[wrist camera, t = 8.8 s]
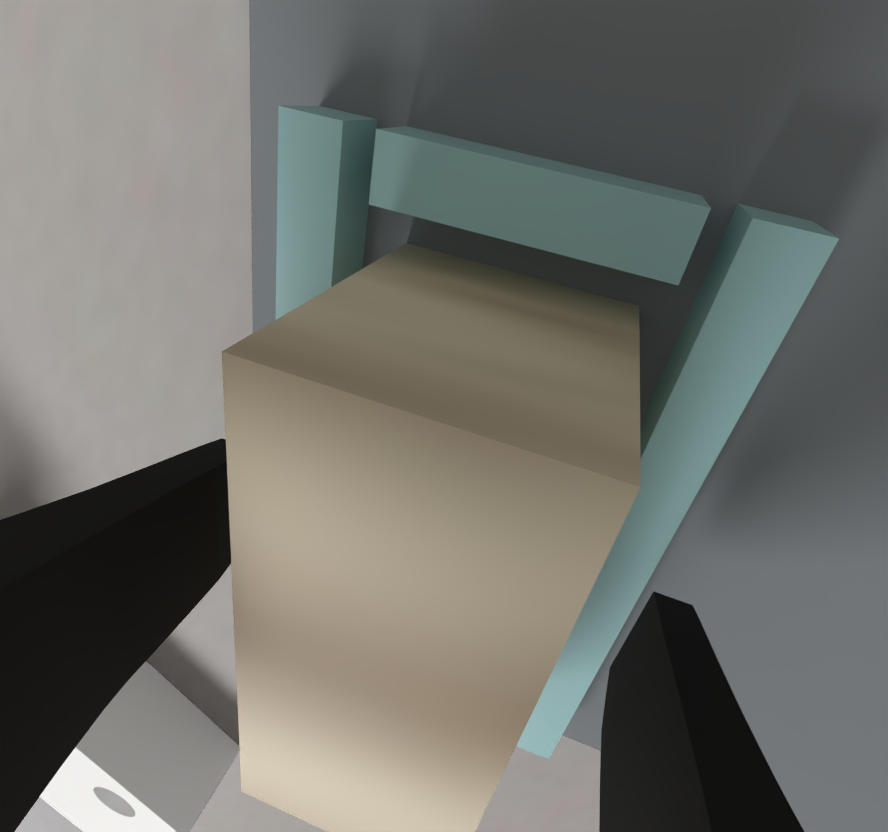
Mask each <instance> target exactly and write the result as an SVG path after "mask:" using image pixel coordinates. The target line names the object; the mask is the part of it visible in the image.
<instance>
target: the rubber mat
mask: <svg viewBox="0 0 888 832" xmlns="http://www.w3.org/2000/svg"><path fill="white" fill-rule="evenodd" d="M249 6H250V102H251V199H252V295H253V333H254V332H256V331H258V330H260V329H261V328H263V327H265V326H266V325H268V324H270V323H271V322H273V321H275V320H276V249H277V175H278V106H323V107H327V108H331V109H335V110H340V111H344V112H348V113H353V114H357V115H361V116H365V117H370V118H374V119H377V127H376V129H380V128H392V127H403V126H408V127H412V128H417V129H421V130H425V131H430V132H434V133H438V134H442V135H447V136H451V137H455V138H459V139H464V140H468V141H472V142H477V143H481V144H485V145H489V146H494V147H498V148H502V149H507V150H511V151H515V152H519V153H524V154H528V155H532V156H536V157H541V158H545V159H549V160H554V161H558V162H562V163H566V164H571V165H575V166H579V167H584V168H588V169H592V170H596V171H601V172H605V173H609V174H613V175H618V176H622V177H626V178H631V179H635V180H639V181H643V182H648V183H652V184H656V185H661V186H665V187H669V188H673V189H678V190H682V191H686V192H690V193H695V194H699V195H702V196H703V198H704V199H705V200H706V202H707V203H708V205H709V206H710V207H711V210H710V212H709V214H708V217H707V219H706V221H705V224H704V226H703V229H702V231H701V233H700V236H699V238H698V240H697V243H696V245H695V247H694V250H693V252H692V255H691V257H690V259H689V262H688V264H687V266H686V269H685V271H684V274H683V276H682V278H681V281H680V283H679V285H674V284H671V283H667V282H663V281H659V280H655V279H652V278H648V277H644V276H640V275H636V274H632V273H629V272H625V271H621V270H617V269H613V268H610V267H606V266H602V265H598V264H594V263H590V262H587V261H583V260H579V259H575V258H571V257H568V256H564V255H560V254H556V253H552V252H548V251H545V250H541V249H537V248H533V247H529V246H526V245H522V244H518V243H514V242H510V241H506V240H503V239H499V238H495V237H491V236H487V235H483V234H480V233H476V232H472V231H468V230H464V229H461V228H457V227H453V226H449V225H445V224H441V223H438V222H434V221H430V220H426V219H422V218H419V217H415V216H411V215H407V214H403V213H399V212H396V211H392V210H388V209H384V208H380V207H377V206H373V205H369V207H368V217H367V227H366V237H365V247H364V257H363V267H362V269H363V268H365V267H366V266H368V265H370V264H372V263H373V262H375V261H377V260H378V259H380V258H382V257H383V256H385V255H387V254H389V253H390V252H392V251H394V250H395V249H397V248H399V247H400V246H402V245H404V244H406V243H408V244H412V245H416V246H419V247H423V248H427V249H430V250H434V251H438V252H442V253H445V254H449V255H453V256H456V257H460V258H464V259H467V260H471V261H475V262H479V263H482V264H486V265H490V266H493V267H497V268H501V269H504V270H508V271H512V272H516V273H519V274H523V275H527V276H530V277H534V278H538V279H541V280H545V281H549V282H552V283H556V284H560V285H564V286H567V287H571V288H575V289H578V290H582V291H586V292H589V293H593V294H597V295H601V296H604V297H608V298H612V299H615V300H619V301H623V302H626V303H630V304H634V305H638V306H639V330H640V422H641V420H642V418H643V416H644V413H645V411H646V409H647V407H648V404H649V402H650V400H651V398H652V395H653V393H654V391H655V389H656V386H657V384H658V382H659V380H660V377H661V375H662V373H663V371H664V368H665V366H666V364H667V362H668V359H669V357H670V355H671V353H672V350H673V348H674V346H675V344H676V341H677V339H678V337H679V335H680V332H681V330H682V328H683V326H684V323H685V321H686V319H687V317H688V314H689V312H690V310H691V308H692V305H693V303H694V301H695V299H696V296H697V294H698V292H699V290H700V287H701V285H702V283H703V281H704V278H705V276H706V274H707V272H708V270H709V267H710V265H711V263H712V261H713V258H714V256H715V254H716V252H717V249H718V247H719V245H720V243H721V240H722V238H723V236H724V234H725V231H726V229H727V227H728V225H729V222H730V220H731V218H732V216H733V213H734V211H735V209H736V207H737V204H742V205H746V206H750V207H755V208H759V209H763V210H767V211H772V212H776V213H780V214H785V215H789V216H793V217H797V218H802V219H806V220H810V221H813V222H815V223H816V224H818V225H819V226H821V227H822V228H824V229H826V230H827V231H829V232H830V233H832V234H833V235H835V236H836V237H838V238H839V240H838V242H837V244H836V245H835V247H834V249H833V251H832V253H831V254H830V256H829V258H828V260H827V262H826V263H825V265H824V267H823V269H822V271H821V272H820V274H819V276H818V278H817V279H816V281H815V283H814V285H813V287H812V288H811V290H810V292H809V294H808V296H807V297H806V299H805V301H804V303H803V305H802V306H801V308H800V310H799V312H798V313H797V315H796V317H795V319H794V321H793V322H792V324H791V326H790V328H789V330H788V331H787V333H786V335H785V337H784V339H783V340H782V342H781V344H780V346H779V348H778V349H777V351H776V353H775V355H774V356H773V358H772V360H771V362H770V364H769V365H768V367H767V369H766V371H765V373H764V374H763V376H762V378H761V380H760V382H759V383H758V385H757V387H756V389H755V391H754V392H753V394H752V396H751V398H750V399H749V401H748V403H747V405H746V407H745V408H744V410H743V412H742V414H741V416H740V417H739V419H738V421H737V423H736V425H735V426H734V428H733V430H732V432H731V433H730V435H729V437H728V439H727V441H726V442H725V444H724V446H723V448H722V450H721V451H720V453H719V455H718V457H717V459H716V460H715V462H714V464H713V466H712V468H711V469H710V471H709V473H708V475H707V476H706V478H705V480H704V482H703V484H702V485H701V487H700V489H699V491H698V493H697V494H696V496H695V498H694V500H693V502H692V503H691V505H690V507H689V509H688V511H687V512H686V514H685V516H684V518H683V519H682V521H681V523H680V525H679V527H678V528H677V530H676V532H675V534H674V536H673V537H672V539H671V541H670V543H669V545H668V546H667V548H666V550H665V552H664V553H663V555H662V557H661V559H660V561H659V562H658V564H657V566H656V568H655V570H654V571H653V573H652V575H651V577H650V579H649V580H648V582H647V584H646V586H645V588H644V589H643V591H642V593H641V595H640V596H639V598H638V600H637V602H636V604H635V605H634V607H633V609H632V611H631V613H630V614H629V616H628V618H627V620H626V622H625V623H624V625H623V627H622V629H621V631H620V632H619V634H618V636H617V638H616V639H615V641H614V643H613V645H612V647H611V648H610V650H609V652H608V654H607V656H606V657H605V659H604V661H603V663H602V665H601V666H600V668H599V670H598V672H597V674H596V675H595V677H594V679H593V681H592V682H591V684H590V686H589V688H588V690H587V691H586V693H585V695H584V697H583V699H582V700H581V702H580V704H579V706H578V708H577V709H576V711H575V713H574V715H573V716H572V718H571V720H570V722H569V724H568V725H567V727H566V729H565V731H564V733H563V734H562V735H564V736H566V737H568V738H571V739H573V740H576V741H578V742H581V743H583V744H586V745H588V746H591V747H593V748H595V749H598V750H600V751H601V730H602V722H603V713H604V705H605V698H606V690H607V683H608V676H609V669H610V666H611V664H612V663H613V661H614V659H615V657H616V656H617V654H618V652H619V651H620V649H621V647H622V645H623V644H624V642H625V640H626V638H627V637H628V635H629V633H630V631H631V630H632V628H633V626H634V624H635V623H636V621H637V619H638V617H639V616H640V614H641V612H642V611H643V609H644V607H645V605H646V604H647V602H648V600H649V598H650V597H651V595H652V593H653V591H654V592H657V593H660V594H663V595H665V596H668V597H671V598H674V599H677V600H680V601H682V602H685V603H688V604H691V605H693V607H694V609H695V611H696V613H697V615H698V617H699V619H700V621H701V623H702V626H703V628H704V630H705V632H706V635H707V637H708V639H709V641H710V643H711V646H712V648H713V650H714V652H715V654H716V657H717V659H718V661H719V663H720V665H721V668H722V670H723V672H724V674H725V676H726V678H727V681H728V683H729V685H730V687H731V689H732V691H733V693H734V696H735V698H736V700H737V702H738V704H739V706H740V708H741V710H742V712H743V714H744V716H745V719H746V721H747V723H748V725H749V727H750V729H751V731H752V733H753V735H754V737H755V739H756V741H757V743H758V745H759V747H760V749H761V751H762V752H763V754H764V756H765V758H766V760H767V762H768V764H769V766H770V768H771V770H772V772H773V774H774V776H775V778H776V780H777V782H778V784H779V786H780V788H781V789H782V791H783V793H784V795H785V797H786V799H787V801H788V803H789V805H790V806H791V808H792V810H793V812H794V814H795V815H796V817H797V819H798V821H799V823H800V825H801V826H802V828H803V830H804V832H888V0H249Z"/></svg>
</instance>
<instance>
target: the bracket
mask: <svg viewBox="0 0 888 832" xmlns="http://www.w3.org/2000/svg"><path fill="white" fill-rule="evenodd" d="M239 751H240V747H239V745H238V744H237V743H235V742H234V741H233V740H232V739H231V738H230V737H229V736H228V735H227V734H226V733H224V732H223V731H222V730H221V729H220V728H219V727H218V726H217V725H216V724H215V723H214V722H212V721H211V720H210V719H209V718H208V717H207V716H206V715H205V714H204V713H203V712H201V711H200V710H199V709H198V708H197V707H196V706H195V705H194V704H193V703H192V702H191V701H189V700H188V699H187V698H186V697H185V696H184V695H183V694H182V693H181V692H180V691H178V690H177V689H176V688H175V687H174V686H173V685H172V684H171V683H170V682H169V681H168V680H166V679H165V678H164V677H163V676H162V675H161V674H160V673H159V672H158V671H157V670H155V669H154V668H153V667H152V666H151V665H150V664H149V663H148V662H147V661H145V663H144V664H143V665H142V666H141V667H140V668H139V669H138V670H137V671H136V673H135V674H134V675H133V676H132V677H131V678H130V679H129V680H128V681H127V683H126V684H125V685H124V686H123V687H122V688H121V690H120V691H119V692H118V693H117V694H116V696H115V697H114V698H113V699H112V700H111V702H110V703H109V704H108V705H107V706H106V708H105V709H104V710H103V712H102V713H101V714H100V715H99V717H98V718H97V719H96V721H95V722H94V723H93V725H92V726H91V727H90V729H89V730H88V731H87V733H86V734H85V735H84V737H83V738H82V739H81V741H80V742H79V743H78V745H77V746H76V747H75V749H74V750H73V751H72V753H71V754H70V755H69V757H68V758H67V759H66V761H65V762H64V763H63V765H62V766H61V767H60V769H59V770H58V771H57V773H56V774H55V776H54V777H53V778H52V780H51V781H50V783H49V784H48V785H47V787H46V788H45V790H44V791H43V792H42V794H41V795H40V796H39V797H40V798H42V799H43V800H44V801H45V802H47V803H48V804H49V805H50V806H52V807H53V808H54V809H55V810H57V811H58V812H59V813H60V814H62V815H63V816H64V817H65V818H67V819H68V820H69V821H71V822H72V823H73V824H74V825H76V826H77V827H78V828H79V829H81V830H82V831H83V832H190V830H191V829H192V827H193V826H194V824H195V822H196V821H197V819H198V817H199V816H200V814H201V813H202V811H203V809H204V808H205V806H206V805H207V803H208V801H209V800H210V798H211V796H212V795H213V793H214V792H215V790H216V788H217V787H218V785H219V784H220V782H221V780H222V779H223V777H224V775H225V774H226V772H227V771H228V769H229V767H230V766H231V764H232V763H233V761H234V759H235V758H236V756H237V754H238V753H239Z"/></svg>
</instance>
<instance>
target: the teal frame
mask: <svg viewBox="0 0 888 832" xmlns="http://www.w3.org/2000/svg"><path fill="white" fill-rule="evenodd" d="M376 127H377V119H374V118H370V117H365V116H361V115H357V114H353V113H348V112H344V111H340V110H335V109H331V108H327V107H323V106H278V175H277V249H276V320H277V319H278V318H280V317H282V316H283V315H285V314H287V313H288V312H290V311H292V310H294V309H295V308H297V307H299V306H300V305H302V304H304V303H305V302H307V301H309V300H310V299H312V298H314V297H316V296H317V295H319V294H321V293H322V292H324V291H326V290H327V289H329V288H331V287H333V286H334V285H336V284H338V283H339V282H341V281H343V280H344V279H346V278H348V277H350V276H351V275H353V274H355V273H356V272H358V271H360V270H361V269H362V267H363V257H364V247H365V237H366V227H367V217H368V207H369V205H373V206H377V207H380V208H384V209H388V210H392V211H396V212H399V213H403V214H407V215H411V216H415V217H419V218H422V219H426V220H430V221H434V222H438V223H441V224H445V225H449V226H453V227H457V228H461V229H464V230H468V231H472V232H476V233H480V234H483V235H487V236H491V237H495V238H499V239H503V240H506V241H510V242H514V243H518V244H522V245H526V246H529V247H533V248H537V249H541V250H545V251H548V252H552V253H556V254H560V255H564V256H568V257H571V258H575V259H579V260H583V261H587V262H590V263H594V264H598V265H602V266H606V267H610V268H613V269H617V270H621V271H625V272H629V273H632V274H636V275H640V276H644V277H648V278H652V279H655V280H659V281H663V282H667V283H671V284H674V285H679V283H680V281H681V278H682V276H683V274H684V271H685V269H686V266H687V264H688V262H689V259H690V257H691V255H692V252H693V250H694V247H695V245H696V243H697V240H698V238H699V236H700V233H701V231H702V229H703V226H704V224H705V221H706V219H707V217H708V214H709V212H710V210H711V207H710V206H709V205H708V203H707V202H706V200H705V199H704V198H703V196H702V195H699V194H695V193H690V192H686V191H682V190H678V189H673V188H669V187H665V186H661V185H656V184H652V183H648V182H643V181H639V180H635V179H631V178H626V177H622V176H618V175H613V174H609V173H605V172H601V171H596V170H592V169H588V168H584V167H579V166H575V165H571V164H566V163H562V162H558V161H554V160H549V159H545V158H541V157H536V156H532V155H528V154H524V153H519V152H515V151H511V150H507V149H502V148H498V147H494V146H489V145H485V144H481V143H477V142H472V141H468V140H464V139H459V138H455V137H451V136H447V135H442V134H438V133H434V132H430V131H425V130H421V129H417V128H412V127H408V126H403V127H392V128H380V129H376ZM838 240H839V238H838V237H836V236H835V235H833V234H832V233H830V232H829V231H827V230H826V229H824V228H822V227H821V226H819V225H818V224H816V223H815V222H813V221H810V220H806V219H802V218H797V217H793V216H789V215H785V214H780V213H776V212H772V211H767V210H763V209H759V208H755V207H750V206H746V205H742V204H737V207H736V209H735V211H734V213H733V216H732V218H731V220H730V222H729V225H728V227H727V229H726V231H725V234H724V236H723V238H722V240H721V243H720V245H719V247H718V249H717V252H716V254H715V256H714V258H713V261H712V263H711V265H710V267H709V270H708V272H707V274H706V276H705V278H704V281H703V283H702V285H701V287H700V290H699V292H698V294H697V296H696V299H695V301H694V303H693V305H692V308H691V310H690V312H689V314H688V317H687V319H686V321H685V323H684V326H683V328H682V330H681V332H680V335H679V337H678V339H677V341H676V344H675V346H674V348H673V350H672V353H671V355H670V357H669V359H668V362H667V364H666V366H665V368H664V371H663V373H662V375H661V377H660V380H659V382H658V384H657V386H656V389H655V391H654V393H653V395H652V398H651V400H650V402H649V404H648V407H647V409H646V411H645V413H644V416H643V418H642V420H641V422H640V457H641V488H640V490H639V492H638V494H637V496H636V498H635V500H634V503H633V505H632V507H631V509H630V511H629V513H628V515H627V517H626V519H625V521H624V523H623V525H622V527H621V530H620V532H619V534H618V536H617V538H616V540H615V542H614V544H613V546H612V548H611V550H610V552H609V554H608V556H607V559H606V561H605V563H604V565H603V567H602V569H601V571H600V573H599V575H598V577H597V579H596V581H595V583H594V586H593V588H592V590H591V592H590V594H589V596H588V598H587V600H586V602H585V604H584V606H583V608H582V610H581V613H580V615H579V617H578V619H577V621H576V623H575V625H574V627H573V629H572V631H571V633H570V635H569V637H568V640H567V642H566V644H565V646H564V648H563V650H562V652H561V654H560V656H559V658H558V660H557V662H556V664H555V667H554V669H553V671H552V673H551V675H550V677H549V679H548V681H547V683H546V685H545V687H544V689H543V691H542V694H541V696H540V698H539V700H538V702H537V704H536V706H535V708H534V710H533V712H532V714H531V716H530V718H529V720H528V723H527V725H526V727H525V729H524V731H523V733H522V735H521V737H520V739H519V741H518V743H517V745H516V746H517V747H520V748H522V749H524V750H527V751H529V752H532V753H534V754H537V755H539V756H541V757H544V758H546V759H549V758H550V756H551V754H552V752H553V751H554V749H555V747H556V745H557V743H558V742H559V740H560V738H561V736H562V734H563V733H564V731H565V729H566V727H567V725H568V724H569V722H570V720H571V718H572V716H573V715H574V713H575V711H576V709H577V708H578V706H579V704H580V702H581V700H582V699H583V697H584V695H585V693H586V691H587V690H588V688H589V686H590V684H591V682H592V681H593V679H594V677H595V675H596V674H597V672H598V670H599V668H600V666H601V665H602V663H603V661H604V659H605V657H606V656H607V654H608V652H609V650H610V648H611V647H612V645H613V643H614V641H615V639H616V638H617V636H618V634H619V632H620V631H621V629H622V627H623V625H624V623H625V622H626V620H627V618H628V616H629V614H630V613H631V611H632V609H633V607H634V605H635V604H636V602H637V600H638V598H639V596H640V595H641V593H642V591H643V589H644V588H645V586H646V584H647V582H648V580H649V579H650V577H651V575H652V573H653V571H654V570H655V568H656V566H657V564H658V562H659V561H660V559H661V557H662V555H663V553H664V552H665V550H666V548H667V546H668V545H669V543H670V541H671V539H672V537H673V536H674V534H675V532H676V530H677V528H678V527H679V525H680V523H681V521H682V519H683V518H684V516H685V514H686V512H687V511H688V509H689V507H690V505H691V503H692V502H693V500H694V498H695V496H696V494H697V493H698V491H699V489H700V487H701V485H702V484H703V482H704V480H705V478H706V476H707V475H708V473H709V471H710V469H711V468H712V466H713V464H714V462H715V460H716V459H717V457H718V455H719V453H720V451H721V450H722V448H723V446H724V444H725V442H726V441H727V439H728V437H729V435H730V433H731V432H732V430H733V428H734V426H735V425H736V423H737V421H738V419H739V417H740V416H741V414H742V412H743V410H744V408H745V407H746V405H747V403H748V401H749V399H750V398H751V396H752V394H753V392H754V391H755V389H756V387H757V385H758V383H759V382H760V380H761V378H762V376H763V374H764V373H765V371H766V369H767V367H768V365H769V364H770V362H771V360H772V358H773V356H774V355H775V353H776V351H777V349H778V348H779V346H780V344H781V342H782V340H783V339H784V337H785V335H786V333H787V331H788V330H789V328H790V326H791V324H792V322H793V321H794V319H795V317H796V315H797V313H798V312H799V310H800V308H801V306H802V305H803V303H804V301H805V299H806V297H807V296H808V294H809V292H810V290H811V288H812V287H813V285H814V283H815V281H816V279H817V278H818V276H819V274H820V272H821V271H822V269H823V267H824V265H825V263H826V262H827V260H828V258H829V256H830V254H831V253H832V251H833V249H834V247H835V245H836V244H837V242H838Z"/></svg>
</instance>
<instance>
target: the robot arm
mask: <svg viewBox="0 0 888 832" xmlns="http://www.w3.org/2000/svg"><path fill="white" fill-rule="evenodd" d="M230 564H231V545H230V523H229V501H228V478H227V456H226V440H224V439H219V440H216V441H213V442H210V443H208V444H205V445H202V446H199V447H197V448H194V449H192V450H189V451H186V452H184V453H181V454H179V455H176V456H174V457H171V458H169V459H166V460H164V461H161V462H159V463H156V464H153V465H151V466H148V467H146V468H143V469H141V470H138V471H136V472H133V473H130V474H128V475H125V476H123V477H120V478H117V479H115V480H112V481H110V482H107V483H104V484H102V485H99V486H97V487H94V488H91V489H89V490H86V491H83V492H80V493H77V494H74V495H72V496H69V497H66V498H63V499H60V500H57V501H54V502H52V503H49V504H46V505H43V506H40V507H37V508H34V509H31V510H29V511H26V512H23V513H20V514H17V515H14V516H11V517H8V518H5V519H2V520H0V832H14V831H15V830H16V828H17V827H18V826H19V824H20V823H21V821H22V820H23V819H24V817H25V816H26V815H27V813H28V812H29V810H30V809H31V808H32V806H33V805H34V803H35V802H36V801H37V799H38V798H39V796H40V795H41V794H42V792H43V791H44V790H45V788H46V787H47V785H48V784H49V783H50V781H51V780H52V778H53V777H54V776H55V774H56V773H57V771H58V770H59V769H60V767H61V766H62V765H63V763H64V762H65V761H66V759H67V758H68V757H69V755H70V754H71V753H72V751H73V750H74V749H75V747H76V746H77V745H78V743H79V742H80V741H81V739H82V738H83V737H84V735H85V734H86V733H87V731H88V730H89V729H90V727H91V726H92V725H93V723H94V722H95V721H96V719H97V718H98V717H99V715H100V714H101V713H102V712H103V710H104V709H105V708H106V706H107V705H108V704H109V703H110V702H111V700H112V699H113V698H114V697H115V696H116V694H117V693H118V692H119V691H120V690H121V688H122V687H123V686H124V685H125V684H126V683H127V681H128V680H129V679H130V678H131V677H132V676H133V675H134V674H135V673H136V671H137V670H138V669H139V668H140V667H141V666H142V665H143V664H144V663H145V661H146V660H147V659H148V658H149V657H150V656H151V655H152V654H153V653H154V651H155V650H156V649H157V648H158V647H159V646H160V645H161V644H162V643H163V641H164V640H165V639H166V638H167V637H168V636H169V635H170V634H171V633H172V632H173V630H174V629H175V628H176V627H177V626H178V625H179V624H180V623H181V622H182V620H183V619H184V618H185V617H186V616H187V615H188V614H189V613H190V612H191V610H192V609H193V608H194V607H195V606H196V605H197V604H198V603H199V601H200V600H201V599H202V598H203V597H204V596H205V595H206V594H207V592H208V591H209V590H210V589H211V588H212V587H213V586H214V584H215V583H216V582H217V581H218V580H219V579H220V577H221V576H222V575H223V573H224V572H225V571H226V569H227V568H228V566H229V565H230ZM600 832H804V830H803V828H802V826H801V825H800V823H799V821H798V819H797V817H796V815H795V814H794V812H793V810H792V808H791V806H790V805H789V803H788V801H787V799H786V797H785V795H784V793H783V791H782V789H781V788H780V786H779V784H778V782H777V780H776V778H775V776H774V774H773V772H772V770H771V768H770V766H769V764H768V762H767V760H766V758H765V756H764V754H763V752H762V751H761V749H760V747H759V745H758V743H757V741H756V739H755V737H754V735H753V733H752V731H751V729H750V727H749V725H748V723H747V721H746V719H745V716H744V714H743V712H742V710H741V708H740V706H739V704H738V702H737V700H736V698H735V696H734V693H733V691H732V689H731V687H730V685H729V683H728V681H727V678H726V676H725V674H724V672H723V670H722V668H721V665H720V663H719V661H718V659H717V657H716V654H715V652H714V650H713V648H712V646H711V643H710V641H709V639H708V637H707V635H706V632H705V630H704V628H703V626H702V623H701V621H700V619H699V617H698V615H697V613H696V611H695V609H694V607H693V605H691V604H688V603H685V602H682V601H680V600H677V599H674V598H671V597H668V596H665V595H663V594H660V593H657V592H654V591H653V593H652V595H651V597H650V598H649V600H648V602H647V604H646V605H645V607H644V609H643V611H642V612H641V614H640V616H639V617H638V619H637V621H636V623H635V624H634V626H633V628H632V630H631V631H630V633H629V635H628V637H627V638H626V640H625V642H624V644H623V645H622V647H621V649H620V651H619V652H618V654H617V656H616V657H615V659H614V661H613V663H612V664H611V666H610V669H609V676H608V683H607V690H606V698H605V705H604V713H603V722H602V730H601V769H600Z"/></svg>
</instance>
